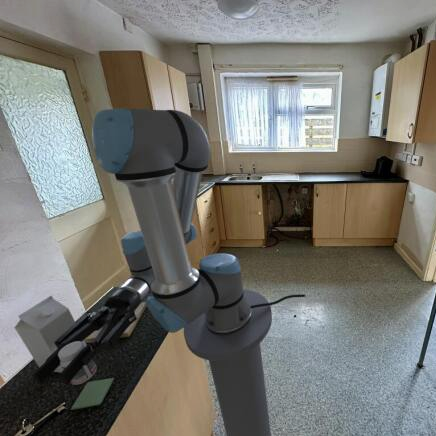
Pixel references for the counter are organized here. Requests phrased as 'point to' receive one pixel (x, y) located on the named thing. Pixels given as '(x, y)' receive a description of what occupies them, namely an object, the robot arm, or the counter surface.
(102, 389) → the pad
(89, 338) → the board
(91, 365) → the pill bottle
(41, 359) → the milk carton
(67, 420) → the counter surface
